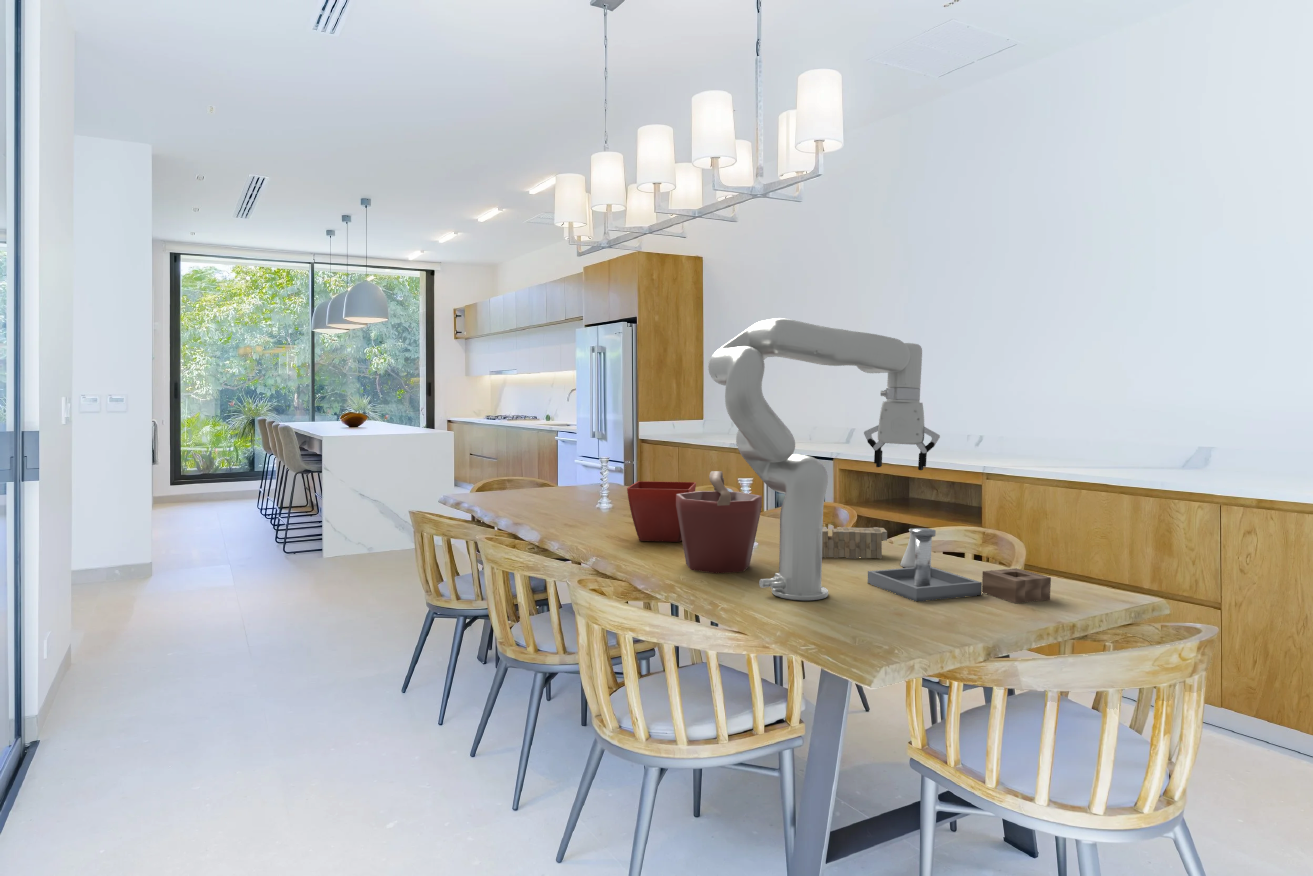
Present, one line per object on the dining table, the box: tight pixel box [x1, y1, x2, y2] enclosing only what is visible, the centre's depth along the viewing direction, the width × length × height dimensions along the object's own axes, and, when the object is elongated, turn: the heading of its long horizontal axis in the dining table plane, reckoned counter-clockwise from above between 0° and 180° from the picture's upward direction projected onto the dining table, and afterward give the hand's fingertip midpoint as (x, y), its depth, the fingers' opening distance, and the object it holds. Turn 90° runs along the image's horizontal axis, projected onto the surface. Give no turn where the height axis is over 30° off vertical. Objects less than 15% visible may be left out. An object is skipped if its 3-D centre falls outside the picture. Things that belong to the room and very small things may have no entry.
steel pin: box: [911, 527, 937, 587], centre depth 188 cm, size 5×5×13 cm
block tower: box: [822, 526, 888, 559], centre depth 228 cm, size 8×8×29 cm
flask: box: [899, 528, 916, 568], centre depth 213 cm, size 7×7×10 cm
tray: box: [867, 566, 982, 602], centre depth 189 cm, size 18×18×3 cm
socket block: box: [981, 567, 1052, 604], centre depth 183 cm, size 10×10×5 cm
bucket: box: [676, 470, 763, 575], centre depth 211 cm, size 24×22×25 cm
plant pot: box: [626, 480, 697, 543], centre depth 251 cm, size 19×19×17 cm
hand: (899, 468), depth 190 cm, fingers open, 9 cm apart
